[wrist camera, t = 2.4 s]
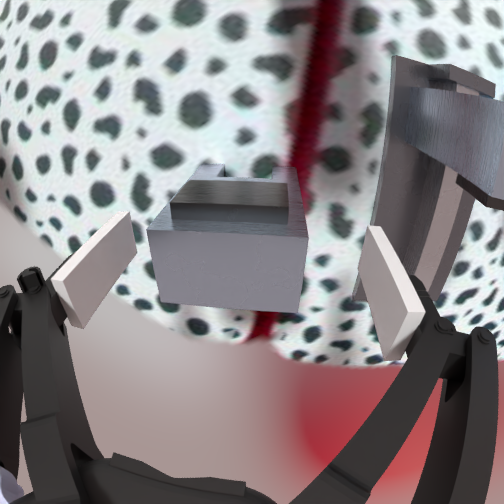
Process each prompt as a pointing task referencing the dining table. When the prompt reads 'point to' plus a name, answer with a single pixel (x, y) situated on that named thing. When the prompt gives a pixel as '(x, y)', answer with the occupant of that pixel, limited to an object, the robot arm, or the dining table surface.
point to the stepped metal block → (232, 242)
